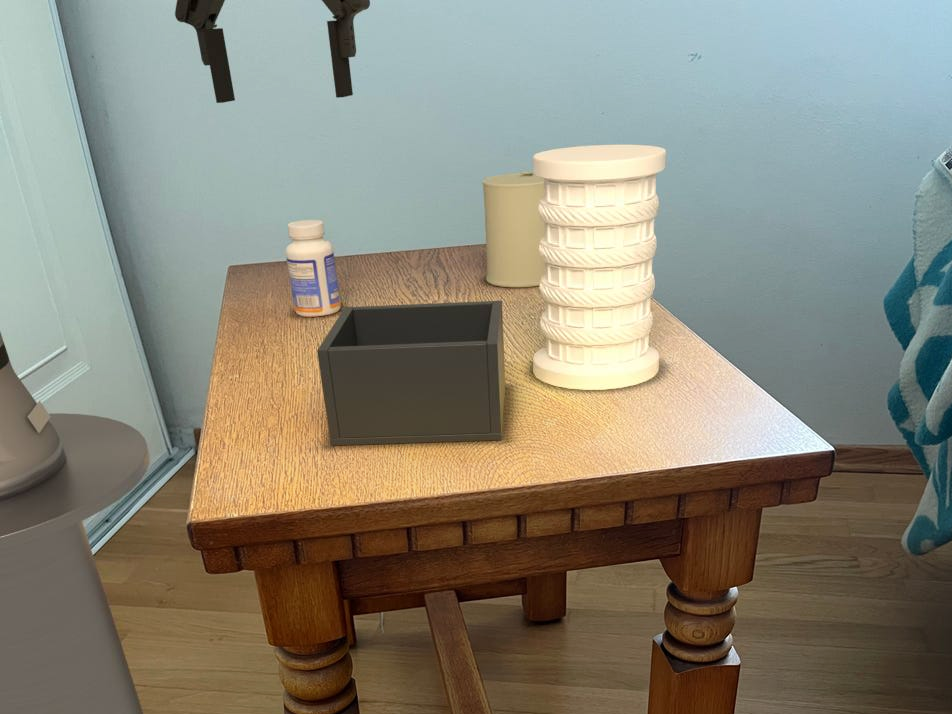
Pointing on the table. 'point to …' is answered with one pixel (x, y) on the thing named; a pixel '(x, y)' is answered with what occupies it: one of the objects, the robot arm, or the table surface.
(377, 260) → the table surface
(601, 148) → the decorative container
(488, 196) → the can
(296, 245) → the pill bottle
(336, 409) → the bin
